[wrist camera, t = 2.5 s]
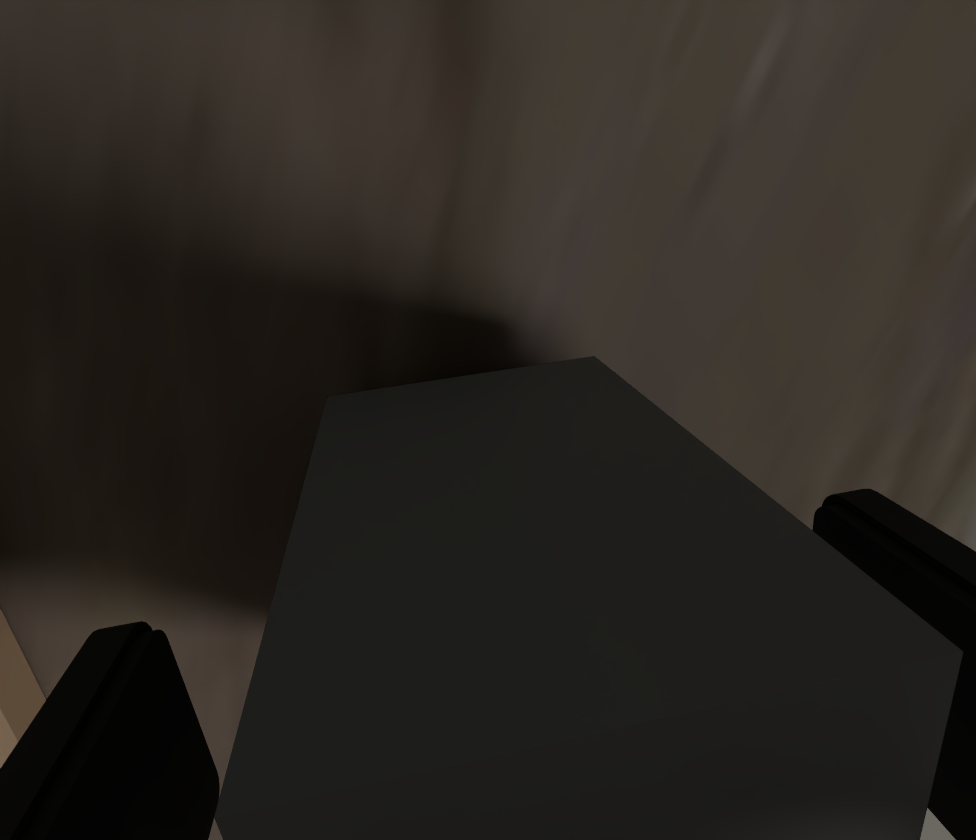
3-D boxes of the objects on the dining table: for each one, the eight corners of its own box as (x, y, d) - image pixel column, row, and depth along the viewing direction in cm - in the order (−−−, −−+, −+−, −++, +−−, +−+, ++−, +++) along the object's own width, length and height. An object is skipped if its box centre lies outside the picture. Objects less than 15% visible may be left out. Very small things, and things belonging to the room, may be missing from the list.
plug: (332, 375, 11) (214, 816, 3) (573, 339, 11) (963, 651, 4) (389, 642, 13) (398, 1275, 5) (588, 603, 13) (850, 1136, 6)
